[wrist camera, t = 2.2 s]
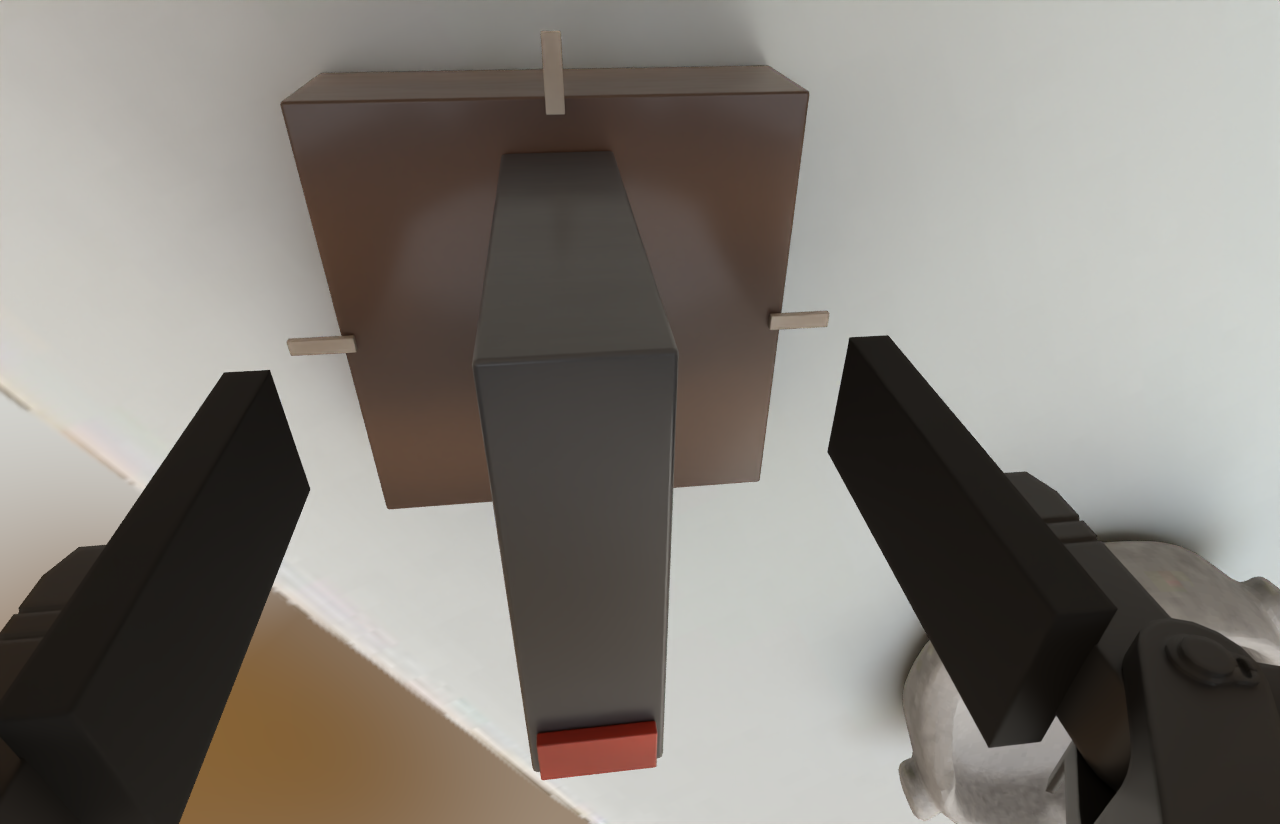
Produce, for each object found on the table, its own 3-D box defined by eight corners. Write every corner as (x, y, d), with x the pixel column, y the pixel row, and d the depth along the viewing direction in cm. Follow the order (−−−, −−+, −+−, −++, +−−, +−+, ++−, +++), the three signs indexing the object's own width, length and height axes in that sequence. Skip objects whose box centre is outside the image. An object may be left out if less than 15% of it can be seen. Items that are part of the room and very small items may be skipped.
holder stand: (250, 14, 15) (189, 36, 12) (823, 10, 16) (878, 28, 13) (373, 473, 22) (351, 548, 19) (766, 445, 23) (795, 512, 20)
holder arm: (501, 152, 14) (468, 374, 7) (613, 149, 14) (684, 360, 7) (534, 471, 18) (532, 788, 12) (618, 465, 19) (665, 773, 12)
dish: (861, 749, 34) (905, 861, 30) (926, 541, 26) (997, 655, 22) (1141, 715, 36) (1219, 818, 32) (1282, 508, 28) (1410, 610, 24)
